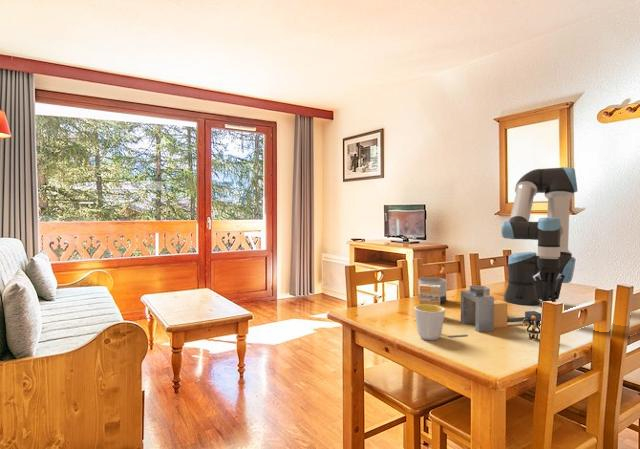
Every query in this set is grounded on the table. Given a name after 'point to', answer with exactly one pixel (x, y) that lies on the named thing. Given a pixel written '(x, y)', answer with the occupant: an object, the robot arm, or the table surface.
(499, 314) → the plug
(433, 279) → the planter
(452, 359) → the table surface
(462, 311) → the housing
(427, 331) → the mug
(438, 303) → the supplement box
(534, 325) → the figurine
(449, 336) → the bay
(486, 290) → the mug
